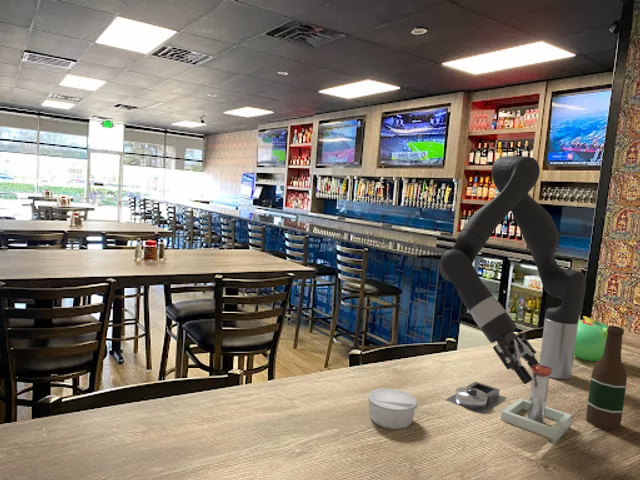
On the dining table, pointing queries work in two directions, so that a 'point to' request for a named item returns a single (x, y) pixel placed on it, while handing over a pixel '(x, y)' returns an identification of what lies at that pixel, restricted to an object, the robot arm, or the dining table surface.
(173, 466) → the dining table surface
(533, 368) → the lock pin
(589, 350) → the green rounded piece
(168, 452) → the dining table surface
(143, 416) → the dining table surface
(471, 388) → the grey piece
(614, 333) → the beer bottle
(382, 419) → the ramekin
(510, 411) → the rectangular frame
